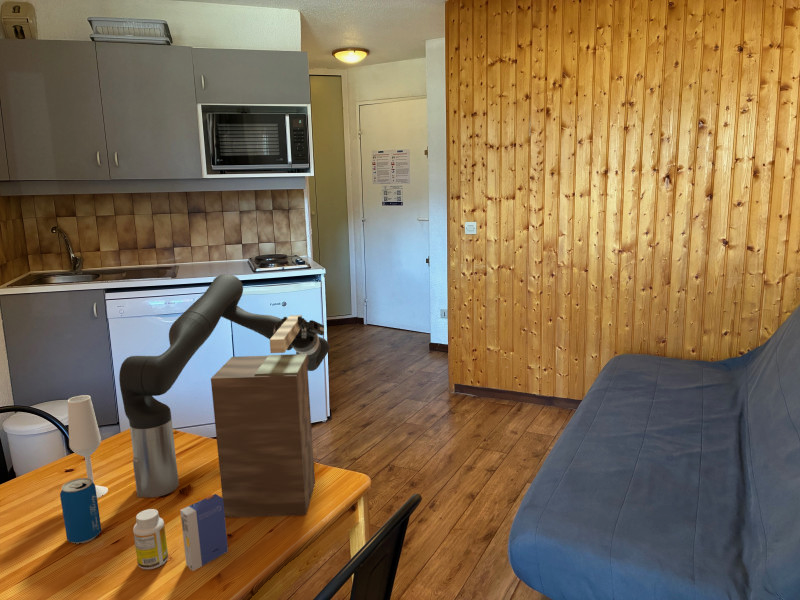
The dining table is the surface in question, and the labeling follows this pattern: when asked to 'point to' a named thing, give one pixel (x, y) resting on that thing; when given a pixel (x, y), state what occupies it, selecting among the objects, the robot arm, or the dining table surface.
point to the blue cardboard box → (204, 531)
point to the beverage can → (80, 510)
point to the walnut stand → (264, 435)
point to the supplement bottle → (150, 539)
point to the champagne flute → (84, 433)
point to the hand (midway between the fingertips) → (292, 320)
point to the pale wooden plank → (285, 335)
